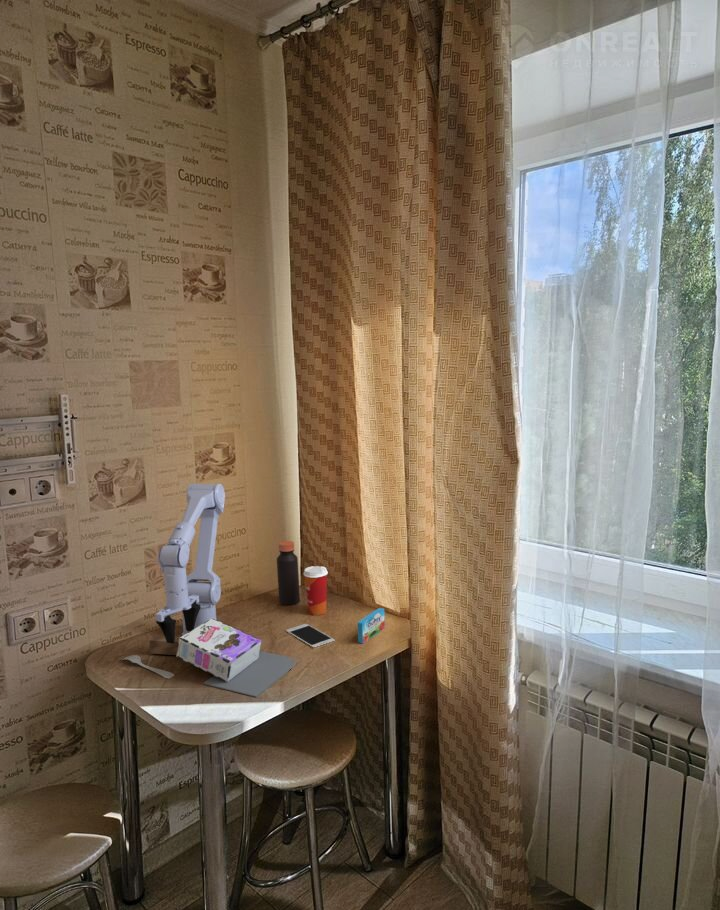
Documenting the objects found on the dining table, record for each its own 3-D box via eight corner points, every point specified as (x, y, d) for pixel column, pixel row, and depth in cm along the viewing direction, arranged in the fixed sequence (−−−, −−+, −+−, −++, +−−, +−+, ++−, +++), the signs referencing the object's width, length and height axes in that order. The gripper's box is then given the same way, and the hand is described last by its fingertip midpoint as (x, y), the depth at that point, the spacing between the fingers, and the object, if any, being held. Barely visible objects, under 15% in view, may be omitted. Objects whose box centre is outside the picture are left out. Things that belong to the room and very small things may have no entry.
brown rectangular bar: (149, 653, 174) (149, 640, 174) (157, 649, 178) (157, 636, 178) (204, 656, 171) (203, 643, 171) (210, 652, 175) (210, 639, 175)
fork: (168, 689, 161) (168, 679, 160) (116, 662, 172) (116, 652, 171) (177, 684, 163) (177, 674, 163) (125, 657, 174) (124, 648, 174)
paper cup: (308, 607, 204) (306, 565, 202) (331, 607, 203) (329, 565, 201) (302, 617, 197) (300, 573, 195) (327, 617, 196) (325, 573, 194)
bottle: (285, 597, 214) (282, 539, 211) (303, 599, 211) (300, 540, 208) (275, 604, 208) (271, 545, 205) (293, 607, 205) (290, 546, 202)
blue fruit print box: (380, 627, 187) (380, 607, 186) (385, 628, 186) (384, 608, 185) (358, 643, 177) (357, 622, 176) (362, 644, 176) (362, 623, 175)
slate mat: (203, 684, 157) (203, 683, 157) (252, 650, 175) (252, 649, 175) (256, 697, 150) (256, 696, 150) (301, 660, 168) (301, 659, 168)
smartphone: (306, 625, 191) (306, 622, 191) (335, 642, 179) (335, 639, 179) (285, 632, 187) (285, 629, 187) (313, 650, 175) (313, 647, 174)
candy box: (231, 662, 155) (177, 637, 161) (228, 683, 157) (175, 657, 163) (262, 639, 168) (211, 616, 174) (258, 658, 169) (208, 635, 175)
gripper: (168, 600, 162) (172, 650, 165) (206, 581, 175) (209, 628, 177) (147, 596, 166) (152, 645, 168) (186, 578, 178) (190, 624, 180)
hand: (180, 636), depth 173 cm, fingers open, 7 cm apart
